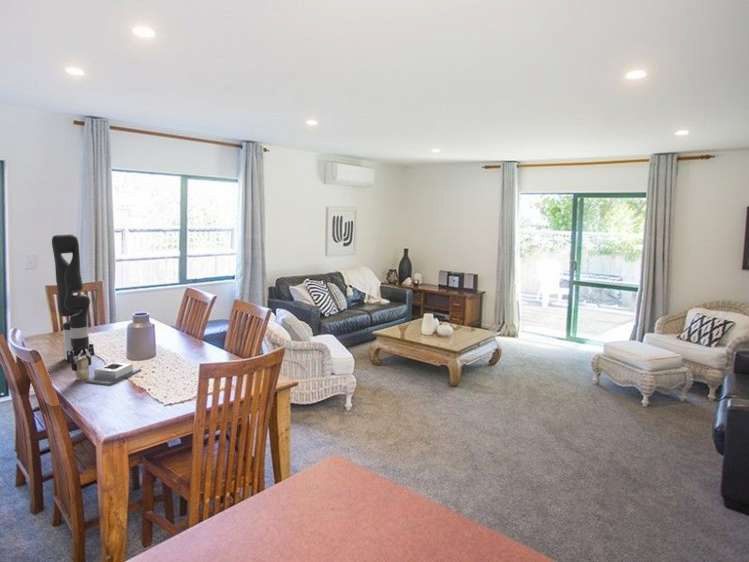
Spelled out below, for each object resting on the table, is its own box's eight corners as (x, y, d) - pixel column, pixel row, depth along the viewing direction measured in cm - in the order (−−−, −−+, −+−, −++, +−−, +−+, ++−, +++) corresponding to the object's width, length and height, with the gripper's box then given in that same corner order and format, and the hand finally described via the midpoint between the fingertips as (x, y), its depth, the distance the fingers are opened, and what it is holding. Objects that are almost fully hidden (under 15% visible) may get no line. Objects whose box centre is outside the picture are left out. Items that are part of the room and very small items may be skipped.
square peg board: (85, 382, 239) (84, 372, 238) (117, 367, 260) (117, 358, 259) (110, 385, 236) (109, 375, 235) (141, 370, 257) (140, 361, 256)
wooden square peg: (76, 379, 242) (74, 359, 241) (82, 376, 246) (81, 357, 245) (83, 380, 241) (81, 360, 240) (89, 377, 245) (88, 358, 244)
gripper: (84, 331, 248) (86, 362, 250) (60, 338, 234) (63, 371, 237) (97, 332, 246) (99, 364, 249) (74, 340, 233) (76, 373, 235)
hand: (81, 367), depth 243 cm, fingers open, 8 cm apart
